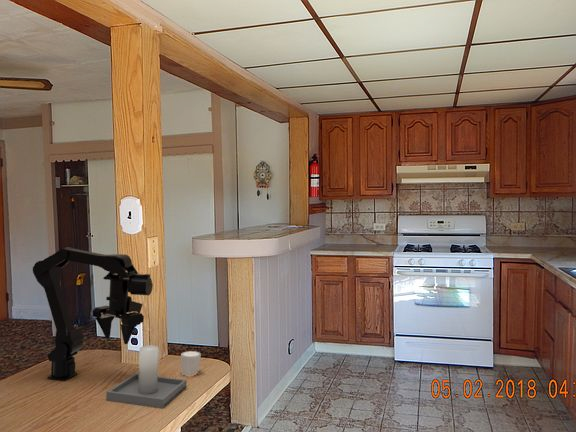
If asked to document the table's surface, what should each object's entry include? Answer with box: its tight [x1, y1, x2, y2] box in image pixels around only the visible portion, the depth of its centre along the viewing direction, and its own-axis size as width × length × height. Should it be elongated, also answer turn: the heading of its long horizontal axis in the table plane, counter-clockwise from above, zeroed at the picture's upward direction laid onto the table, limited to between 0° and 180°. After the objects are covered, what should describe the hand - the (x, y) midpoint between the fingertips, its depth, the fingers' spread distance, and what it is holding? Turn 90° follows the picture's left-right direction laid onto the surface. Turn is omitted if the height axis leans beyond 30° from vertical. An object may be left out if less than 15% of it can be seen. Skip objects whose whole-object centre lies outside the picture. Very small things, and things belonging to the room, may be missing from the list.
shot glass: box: [180, 350, 202, 376], centre depth 160 cm, size 7×7×7 cm
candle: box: [138, 344, 160, 394], centre depth 141 cm, size 6×6×13 cm
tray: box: [105, 373, 187, 409], centre depth 141 cm, size 18×16×2 cm
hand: (116, 341), depth 150 cm, fingers open, 9 cm apart
